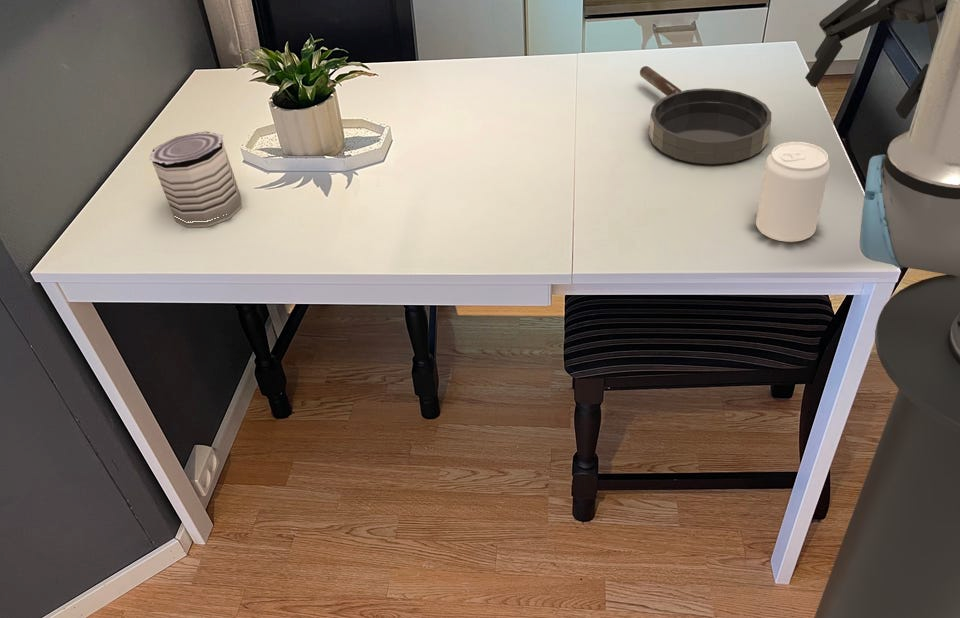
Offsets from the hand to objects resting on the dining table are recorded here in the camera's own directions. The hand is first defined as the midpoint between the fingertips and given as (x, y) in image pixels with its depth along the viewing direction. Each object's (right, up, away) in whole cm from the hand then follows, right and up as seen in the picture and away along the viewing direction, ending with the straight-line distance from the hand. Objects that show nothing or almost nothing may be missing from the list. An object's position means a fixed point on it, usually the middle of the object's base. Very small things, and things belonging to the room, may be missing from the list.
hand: (853, 98), depth 107 cm
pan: (-12, +1, +28) cm, 30 cm away
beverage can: (-7, -17, +7) cm, 20 cm away
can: (-95, -12, +24) cm, 99 cm away
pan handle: (-17, +12, +39) cm, 44 cm away
